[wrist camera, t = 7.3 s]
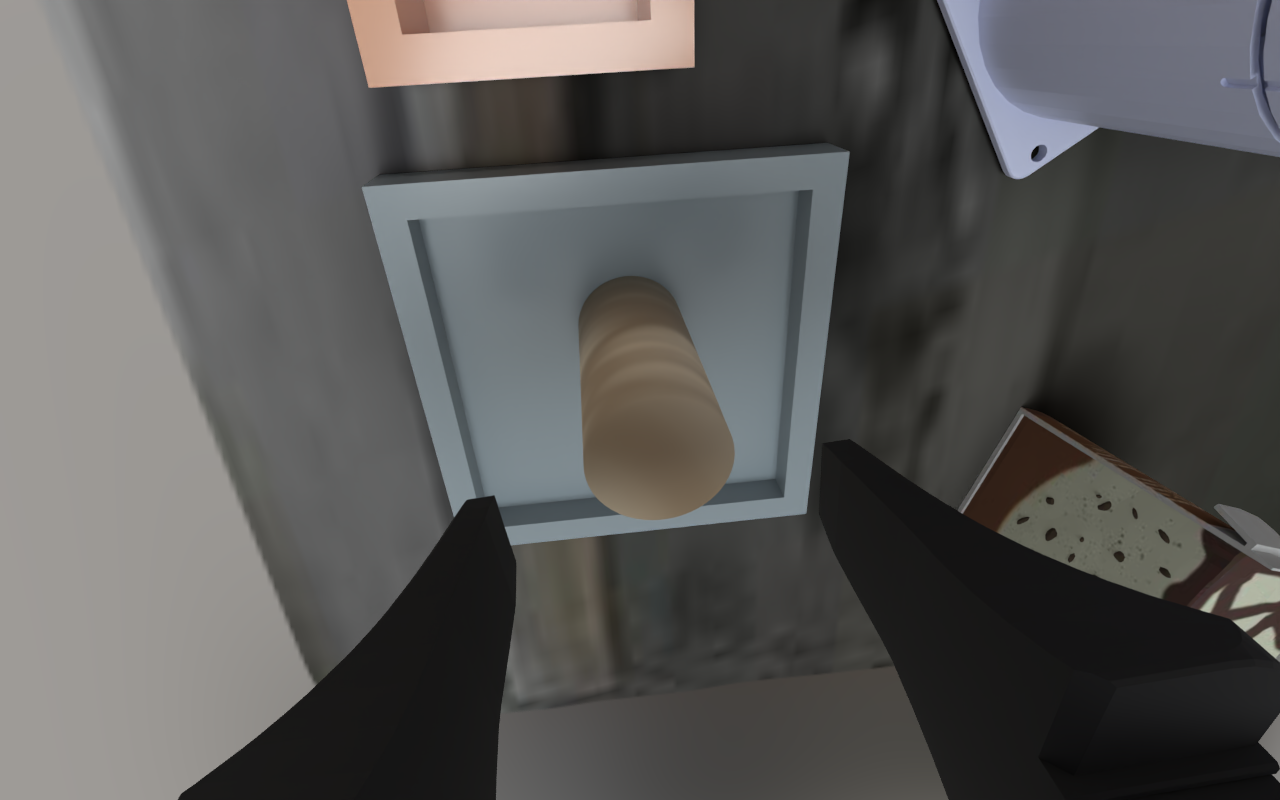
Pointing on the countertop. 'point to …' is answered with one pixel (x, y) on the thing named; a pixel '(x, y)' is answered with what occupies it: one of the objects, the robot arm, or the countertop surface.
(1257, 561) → the food container
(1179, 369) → the countertop surface
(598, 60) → the terracotta square open box
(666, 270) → the slate tray
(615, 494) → the beech dowel
